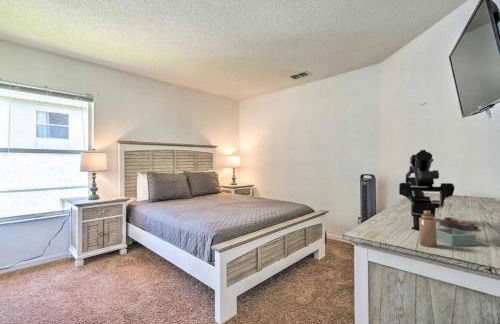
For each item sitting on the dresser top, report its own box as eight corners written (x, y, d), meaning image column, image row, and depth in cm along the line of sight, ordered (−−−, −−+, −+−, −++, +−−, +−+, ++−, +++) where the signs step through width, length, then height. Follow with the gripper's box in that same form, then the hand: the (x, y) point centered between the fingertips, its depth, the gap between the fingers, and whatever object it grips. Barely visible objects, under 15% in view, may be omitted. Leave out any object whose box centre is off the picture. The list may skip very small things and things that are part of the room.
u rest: (431, 237, 101) (431, 228, 101) (455, 237, 101) (455, 228, 101) (452, 245, 91) (451, 235, 91) (478, 245, 91) (478, 235, 91)
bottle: (416, 244, 93) (415, 210, 94) (425, 242, 96) (424, 209, 96) (431, 248, 89) (430, 212, 89) (440, 246, 91) (438, 211, 91)
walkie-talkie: (481, 230, 111) (434, 221, 129) (481, 220, 111) (434, 212, 129) (470, 232, 107) (423, 223, 126) (469, 222, 107) (423, 214, 126)
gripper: (398, 164, 107) (401, 193, 97) (452, 163, 98) (461, 194, 89) (398, 180, 114) (400, 208, 105) (448, 180, 105) (456, 211, 96)
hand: (428, 205), depth 98 cm, fingers open, 9 cm apart
